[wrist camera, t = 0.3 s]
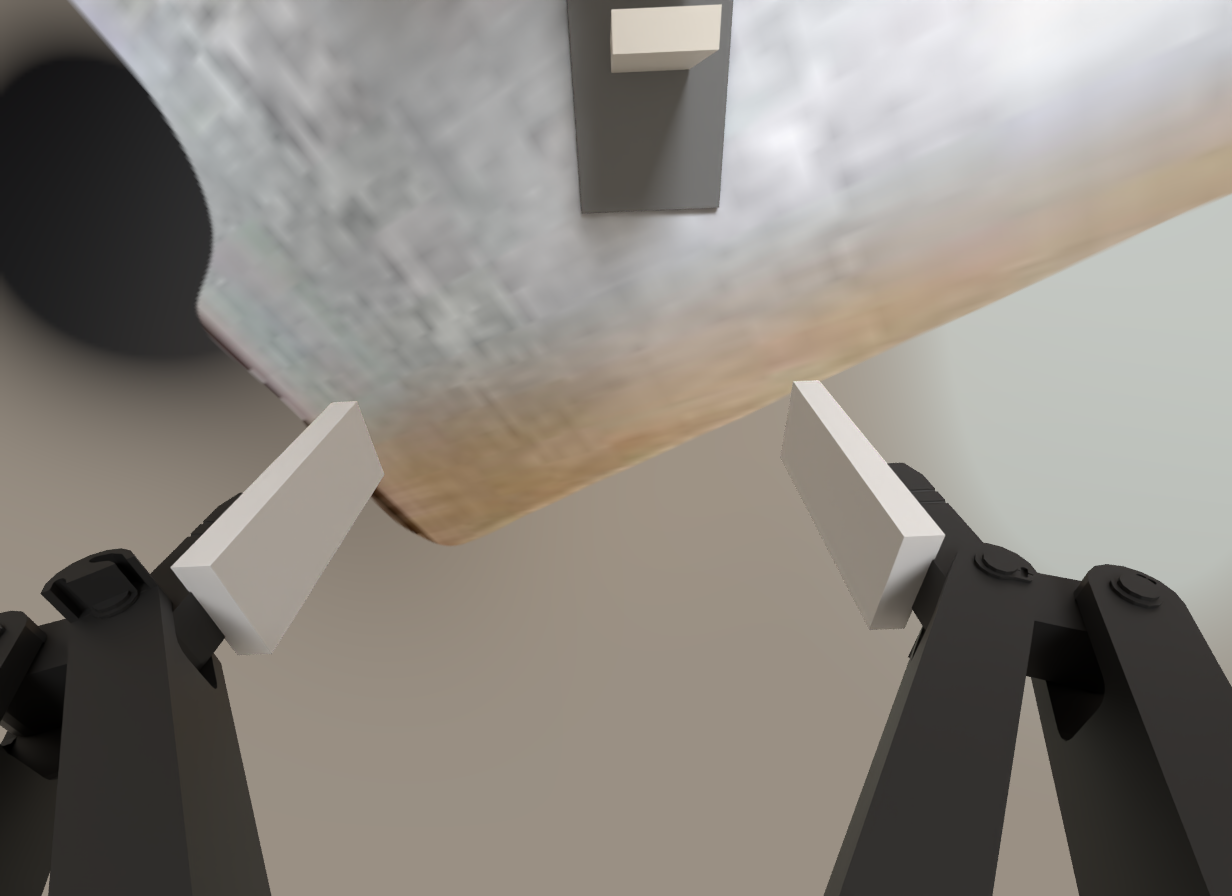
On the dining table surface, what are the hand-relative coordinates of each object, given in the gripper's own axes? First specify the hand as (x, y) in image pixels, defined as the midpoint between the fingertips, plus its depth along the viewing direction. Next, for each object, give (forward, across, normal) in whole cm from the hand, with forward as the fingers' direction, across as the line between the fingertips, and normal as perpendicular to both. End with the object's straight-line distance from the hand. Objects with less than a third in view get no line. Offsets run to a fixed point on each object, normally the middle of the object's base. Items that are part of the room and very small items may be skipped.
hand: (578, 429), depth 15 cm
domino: (+26, +4, +11) cm, 29 cm away
